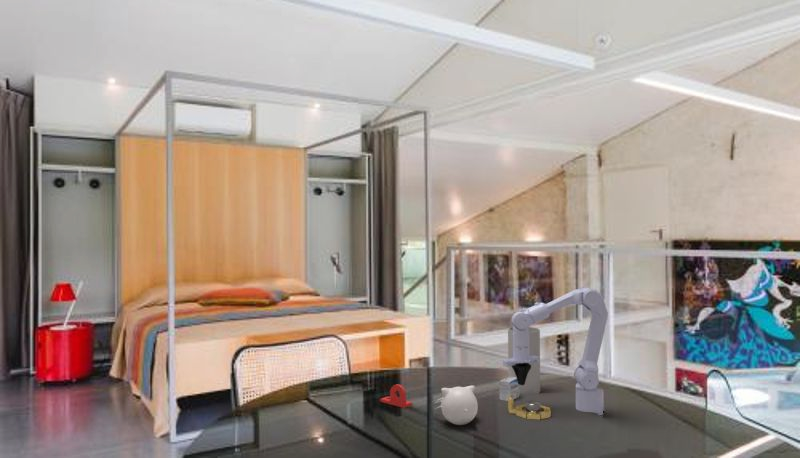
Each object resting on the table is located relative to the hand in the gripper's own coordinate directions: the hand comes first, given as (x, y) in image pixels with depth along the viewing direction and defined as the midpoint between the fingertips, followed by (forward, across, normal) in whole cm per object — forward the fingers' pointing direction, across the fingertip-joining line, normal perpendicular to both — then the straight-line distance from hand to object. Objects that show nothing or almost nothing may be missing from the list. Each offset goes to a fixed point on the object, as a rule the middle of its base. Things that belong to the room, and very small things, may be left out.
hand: (521, 384), depth 199 cm
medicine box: (+10, +4, +12) cm, 16 cm away
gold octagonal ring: (+8, -2, -6) cm, 10 cm away
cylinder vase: (+10, +18, +20) cm, 29 cm away
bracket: (+10, -34, +31) cm, 47 cm away
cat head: (+10, -26, 0) cm, 28 cm away
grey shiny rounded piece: (+10, 0, -7) cm, 12 cm away
